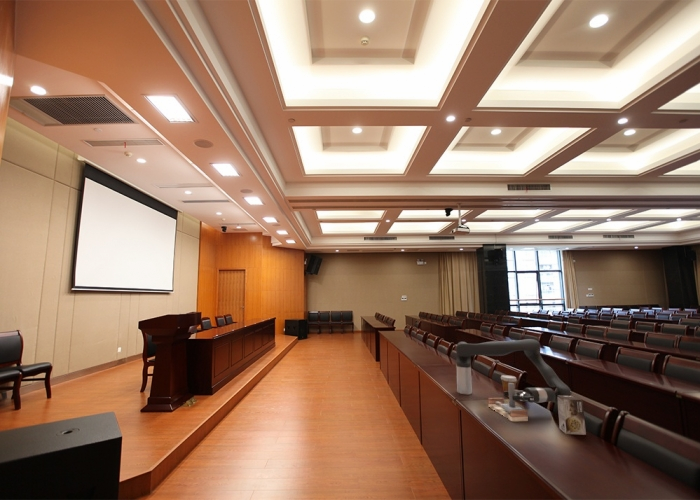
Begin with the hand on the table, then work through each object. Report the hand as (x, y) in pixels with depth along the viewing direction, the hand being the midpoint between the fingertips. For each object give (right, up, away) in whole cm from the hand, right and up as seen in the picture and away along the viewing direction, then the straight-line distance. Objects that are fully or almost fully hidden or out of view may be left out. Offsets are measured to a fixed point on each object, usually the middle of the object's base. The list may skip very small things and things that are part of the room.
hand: (508, 395), depth 177 cm
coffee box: (+22, -9, -20) cm, 31 cm away
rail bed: (+1, -12, +4) cm, 12 cm away
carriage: (+2, -9, -1) cm, 9 cm away
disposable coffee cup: (+19, -17, +37) cm, 45 cm away
